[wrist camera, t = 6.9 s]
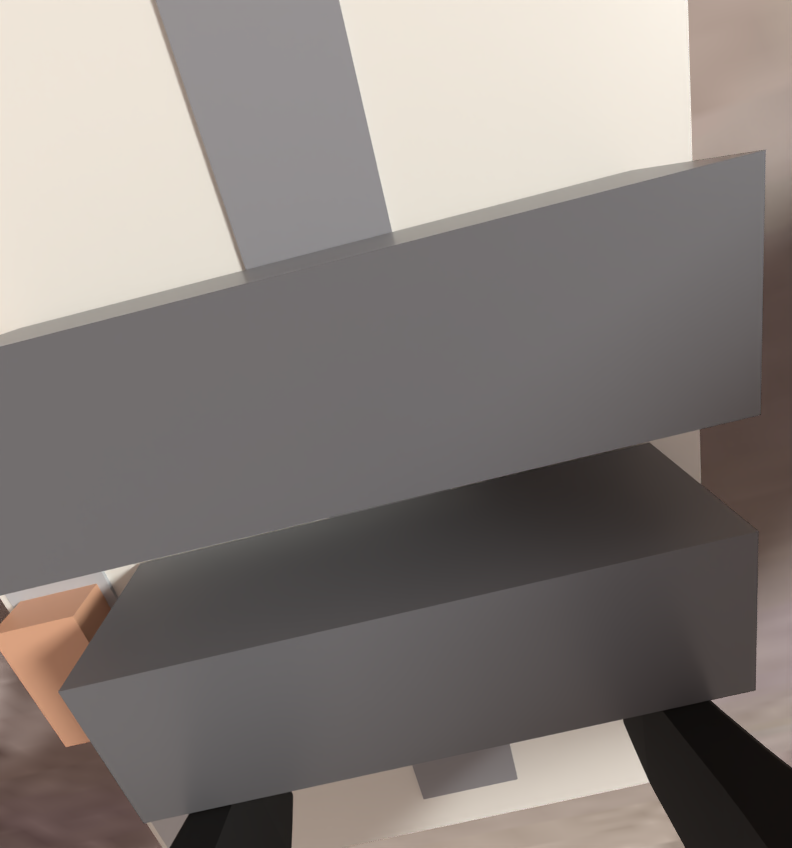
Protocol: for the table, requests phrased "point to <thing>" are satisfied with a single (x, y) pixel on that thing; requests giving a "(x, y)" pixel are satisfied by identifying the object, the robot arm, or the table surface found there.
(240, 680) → the slider
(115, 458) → the slider middle
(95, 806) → the table surface
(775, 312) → the table surface
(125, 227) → the switch panel
